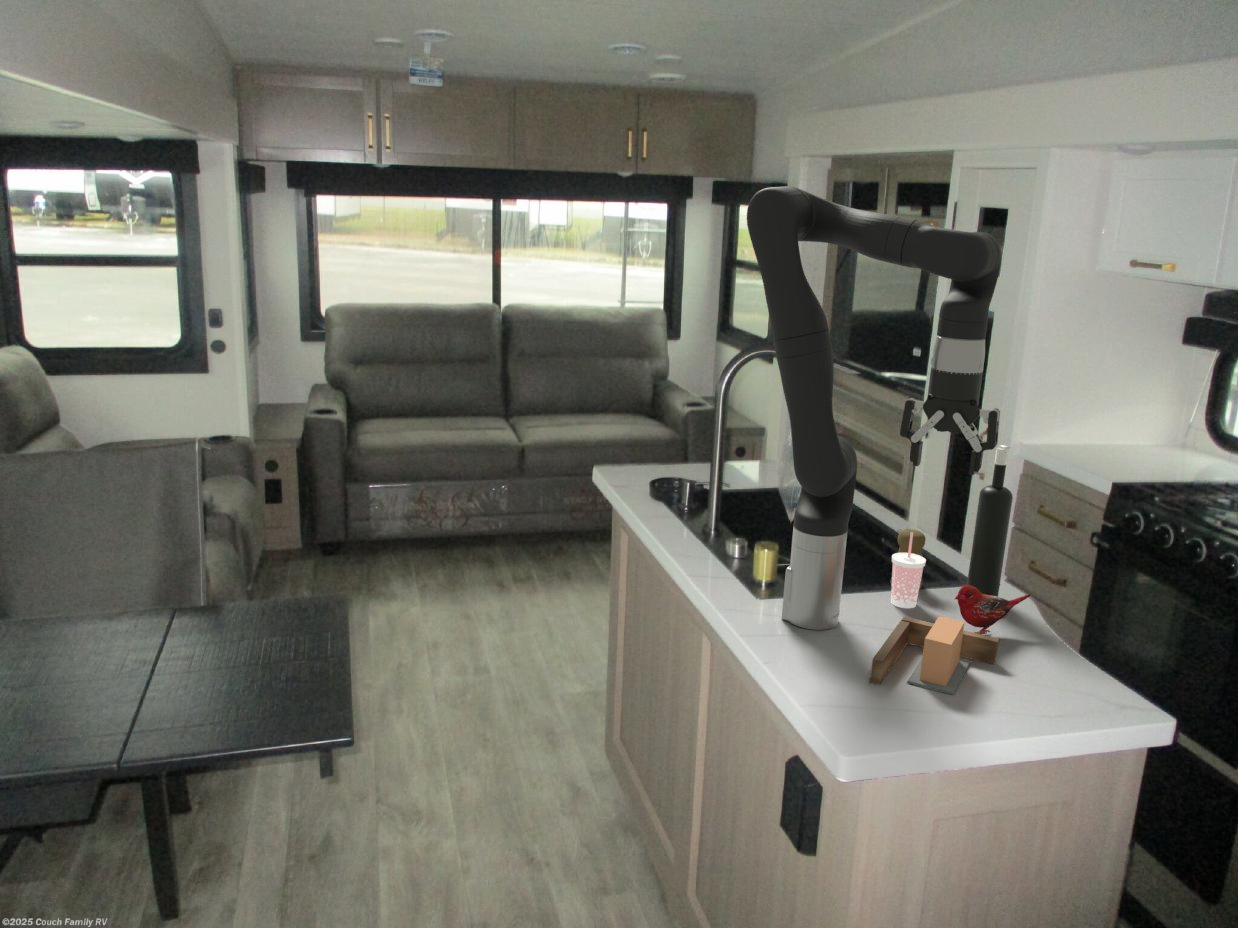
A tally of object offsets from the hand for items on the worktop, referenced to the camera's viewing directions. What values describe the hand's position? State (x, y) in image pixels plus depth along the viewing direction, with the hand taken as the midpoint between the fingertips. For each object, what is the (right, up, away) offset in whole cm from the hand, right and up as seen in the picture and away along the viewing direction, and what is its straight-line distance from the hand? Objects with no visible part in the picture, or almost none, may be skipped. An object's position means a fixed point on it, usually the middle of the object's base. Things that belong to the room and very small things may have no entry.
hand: (943, 469), depth 153 cm
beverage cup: (+2, -25, +30) cm, 39 cm away
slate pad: (0, -32, +3) cm, 33 cm away
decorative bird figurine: (+14, -29, +18) cm, 37 cm away
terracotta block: (0, -32, +3) cm, 32 cm away
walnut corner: (0, -32, +3) cm, 33 cm away
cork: (+6, -23, +39) cm, 46 cm away
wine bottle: (+18, -25, +34) cm, 46 cm away
